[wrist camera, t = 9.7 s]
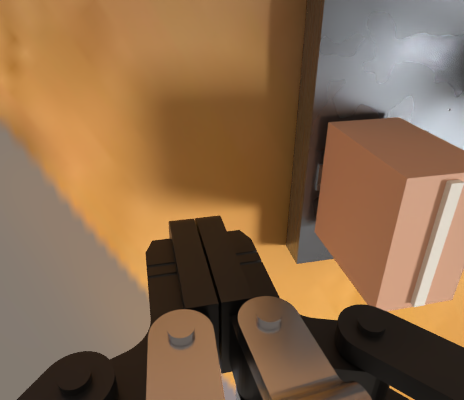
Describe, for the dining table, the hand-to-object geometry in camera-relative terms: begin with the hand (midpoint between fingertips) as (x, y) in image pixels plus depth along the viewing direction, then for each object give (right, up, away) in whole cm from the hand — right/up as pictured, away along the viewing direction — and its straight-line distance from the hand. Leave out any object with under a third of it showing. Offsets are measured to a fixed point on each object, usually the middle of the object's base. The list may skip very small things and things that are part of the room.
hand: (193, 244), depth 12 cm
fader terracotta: (+6, +2, +5) cm, 8 cm away
